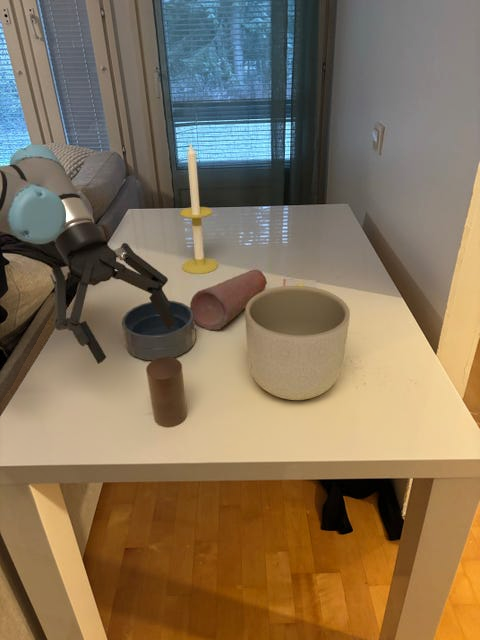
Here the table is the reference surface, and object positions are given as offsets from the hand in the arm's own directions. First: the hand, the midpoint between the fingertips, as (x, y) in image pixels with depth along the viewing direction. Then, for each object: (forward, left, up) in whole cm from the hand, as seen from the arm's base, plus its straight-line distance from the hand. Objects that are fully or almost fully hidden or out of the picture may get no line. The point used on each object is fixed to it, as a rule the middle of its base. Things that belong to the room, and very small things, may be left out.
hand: (139, 342), depth 76 cm
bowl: (+12, +12, -11) cm, 21 cm away
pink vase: (+32, +10, -12) cm, 36 cm away
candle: (+42, +35, -12) cm, 56 cm away
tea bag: (+38, -3, -12) cm, 40 cm away
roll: (0, -7, -11) cm, 13 cm away
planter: (+21, -16, -12) cm, 29 cm away
